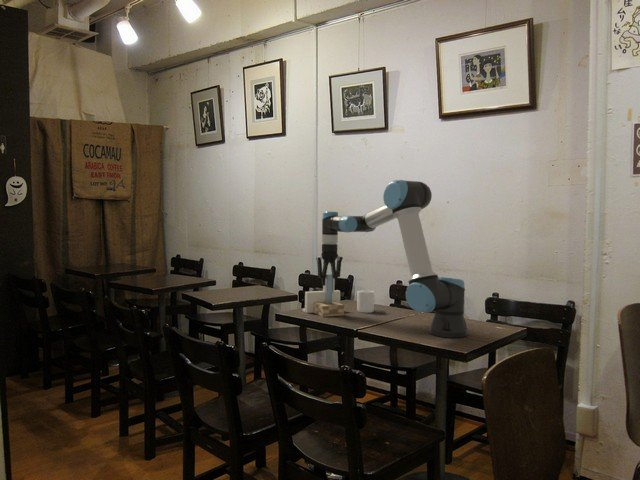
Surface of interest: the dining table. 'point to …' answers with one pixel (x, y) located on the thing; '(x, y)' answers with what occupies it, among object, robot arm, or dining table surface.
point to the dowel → (329, 289)
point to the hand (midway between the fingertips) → (328, 291)
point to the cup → (365, 301)
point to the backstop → (318, 299)
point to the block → (328, 309)
